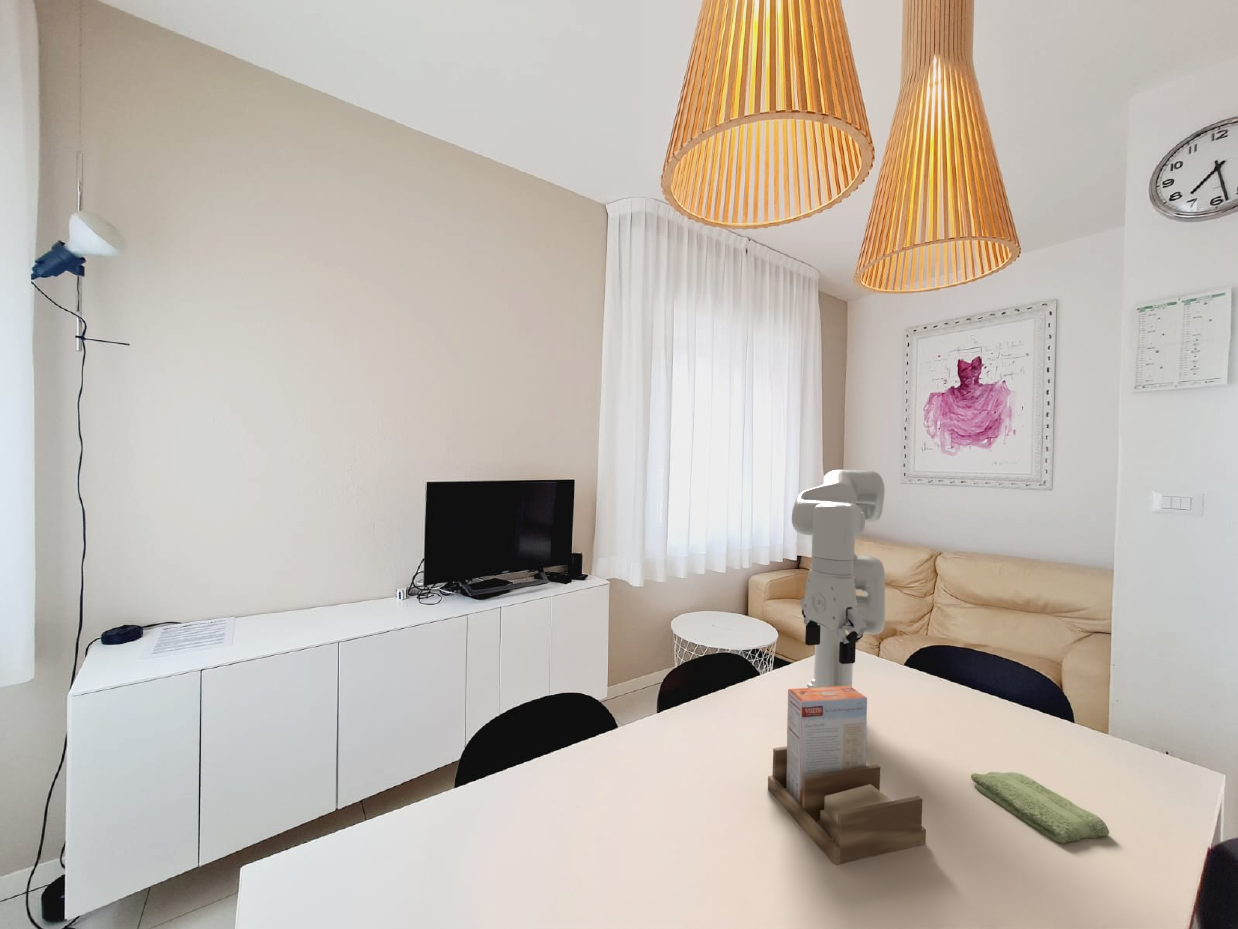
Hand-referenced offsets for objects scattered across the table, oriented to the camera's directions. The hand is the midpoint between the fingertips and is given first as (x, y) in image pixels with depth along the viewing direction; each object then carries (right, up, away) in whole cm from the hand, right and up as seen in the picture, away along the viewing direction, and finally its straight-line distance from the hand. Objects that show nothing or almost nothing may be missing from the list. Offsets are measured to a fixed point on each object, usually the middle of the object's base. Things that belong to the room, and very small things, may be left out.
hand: (828, 653), depth 95 cm
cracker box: (-1, -29, 0) cm, 29 cm away
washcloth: (+40, -31, -1) cm, 50 cm away
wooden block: (+2, -29, -9) cm, 30 cm away
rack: (0, -29, -4) cm, 29 cm away
